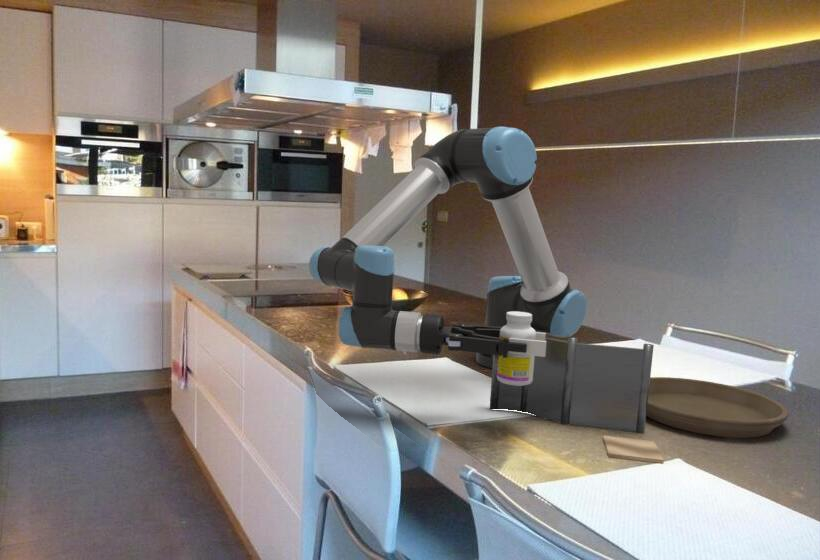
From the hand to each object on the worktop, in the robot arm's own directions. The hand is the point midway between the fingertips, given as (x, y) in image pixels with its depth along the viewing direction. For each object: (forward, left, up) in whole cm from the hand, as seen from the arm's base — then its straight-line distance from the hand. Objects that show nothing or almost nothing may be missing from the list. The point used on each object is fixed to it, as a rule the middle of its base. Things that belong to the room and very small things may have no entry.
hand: (545, 344), depth 124 cm
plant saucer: (-22, +34, -17) cm, 44 cm away
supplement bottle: (0, -5, -8) cm, 9 cm away
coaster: (+4, +16, -17) cm, 24 cm away
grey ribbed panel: (-9, +5, -17) cm, 20 cm away
